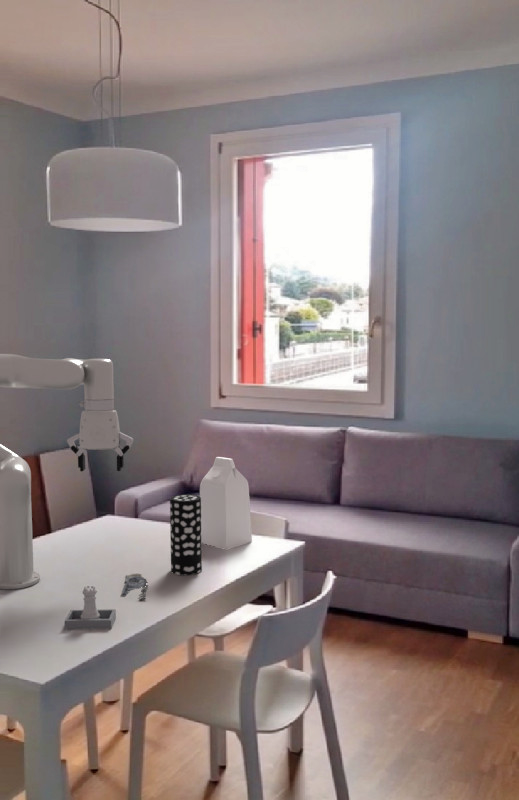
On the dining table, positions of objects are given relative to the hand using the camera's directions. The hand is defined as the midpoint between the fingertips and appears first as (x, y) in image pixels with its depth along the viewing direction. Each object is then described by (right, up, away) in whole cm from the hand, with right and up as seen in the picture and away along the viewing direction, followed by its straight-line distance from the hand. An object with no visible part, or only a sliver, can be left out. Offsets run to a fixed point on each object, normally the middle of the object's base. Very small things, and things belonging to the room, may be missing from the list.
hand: (101, 470), depth 213 cm
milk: (+31, -25, +34) cm, 53 cm away
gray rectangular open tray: (+4, -32, -32) cm, 45 cm away
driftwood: (+10, -30, -8) cm, 32 cm away
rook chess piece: (+4, -32, -32) cm, 45 cm away
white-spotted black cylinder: (+22, -28, +6) cm, 36 cm away
